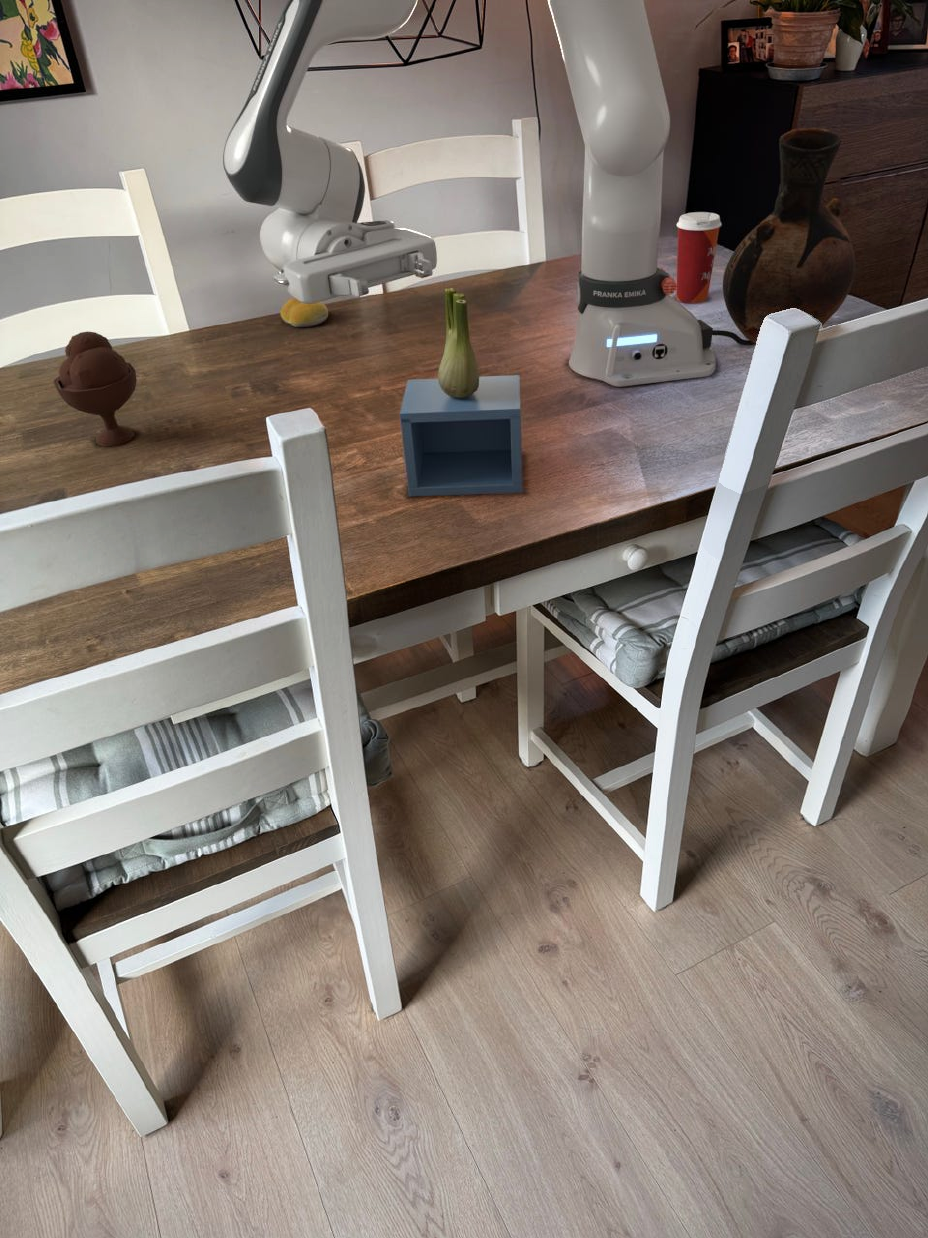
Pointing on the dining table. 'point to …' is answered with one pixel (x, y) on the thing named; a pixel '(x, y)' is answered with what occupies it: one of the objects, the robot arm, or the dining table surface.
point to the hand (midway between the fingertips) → (396, 279)
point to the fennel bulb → (457, 350)
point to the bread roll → (303, 313)
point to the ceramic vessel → (793, 243)
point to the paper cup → (696, 255)
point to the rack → (462, 438)
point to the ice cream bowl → (97, 383)
